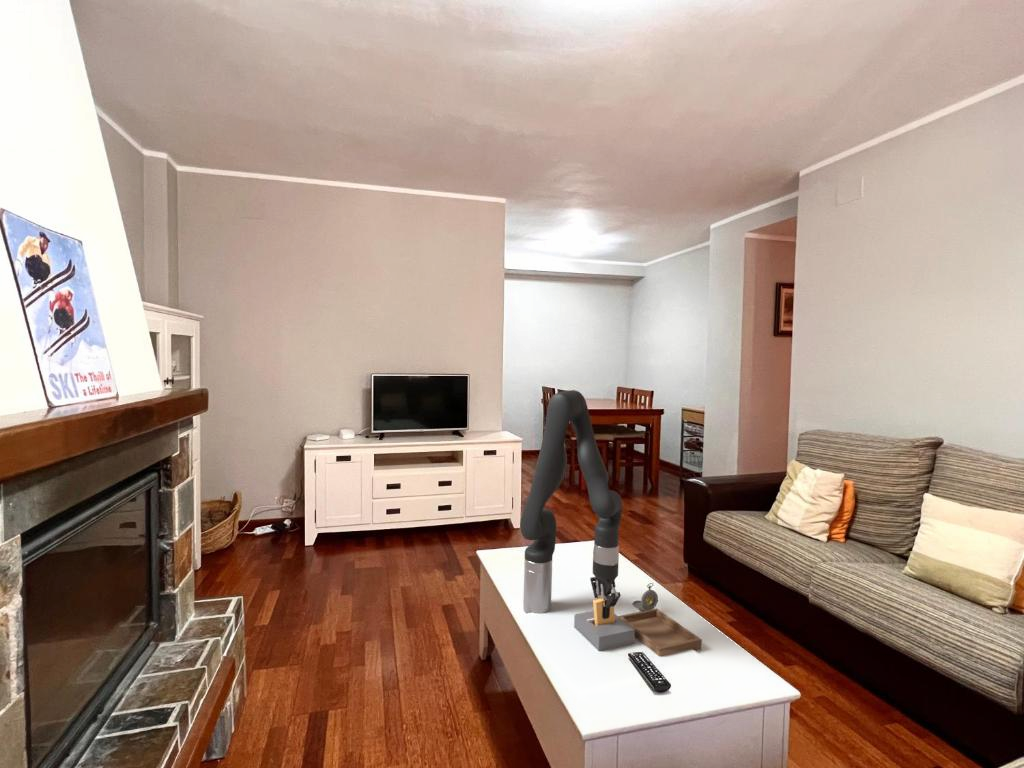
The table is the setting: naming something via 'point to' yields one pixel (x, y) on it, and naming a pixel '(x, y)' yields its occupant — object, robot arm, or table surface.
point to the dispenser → (604, 631)
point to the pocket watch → (647, 600)
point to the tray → (661, 632)
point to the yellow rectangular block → (598, 613)
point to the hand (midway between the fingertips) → (603, 616)
